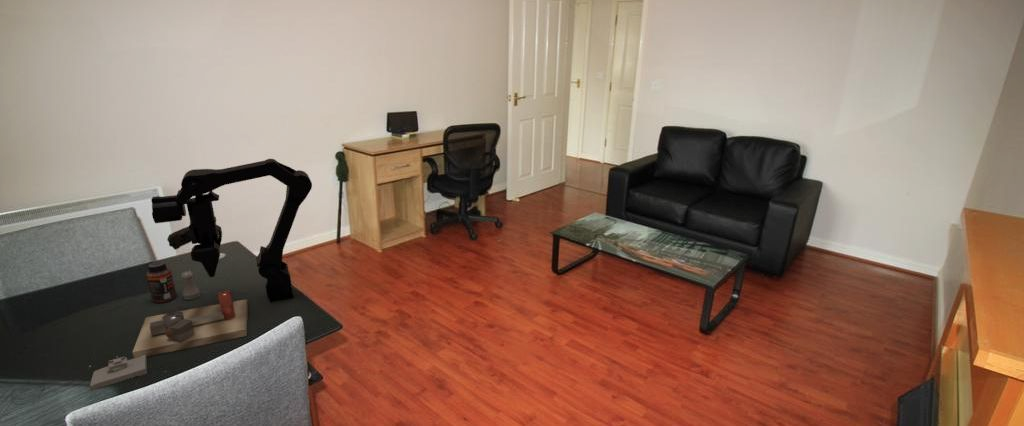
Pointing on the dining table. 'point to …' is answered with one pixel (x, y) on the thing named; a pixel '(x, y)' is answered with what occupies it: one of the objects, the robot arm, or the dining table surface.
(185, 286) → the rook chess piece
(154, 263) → the supplement bottle
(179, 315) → the lever
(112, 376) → the beige platform
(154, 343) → the base
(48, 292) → the dining table surface
